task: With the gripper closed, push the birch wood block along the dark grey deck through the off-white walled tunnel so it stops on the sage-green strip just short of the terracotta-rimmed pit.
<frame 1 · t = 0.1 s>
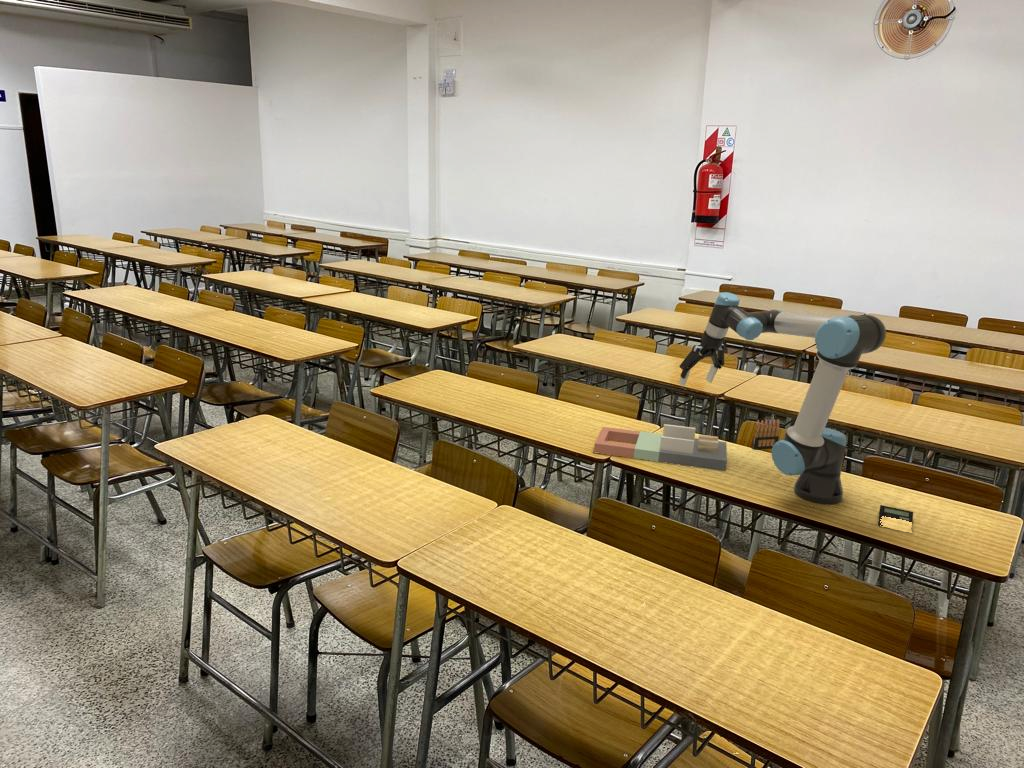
hand: (695, 382, 267), 28 cm above the table, tool tilted 20°, fingers open, 13 cm apart
ammunition clip: (764, 448, 283), on the table
block: (707, 448, 268), point 4 cm above the table, touching deck
calculator: (894, 524, 224), on the table
deck: (670, 453, 273), on the table
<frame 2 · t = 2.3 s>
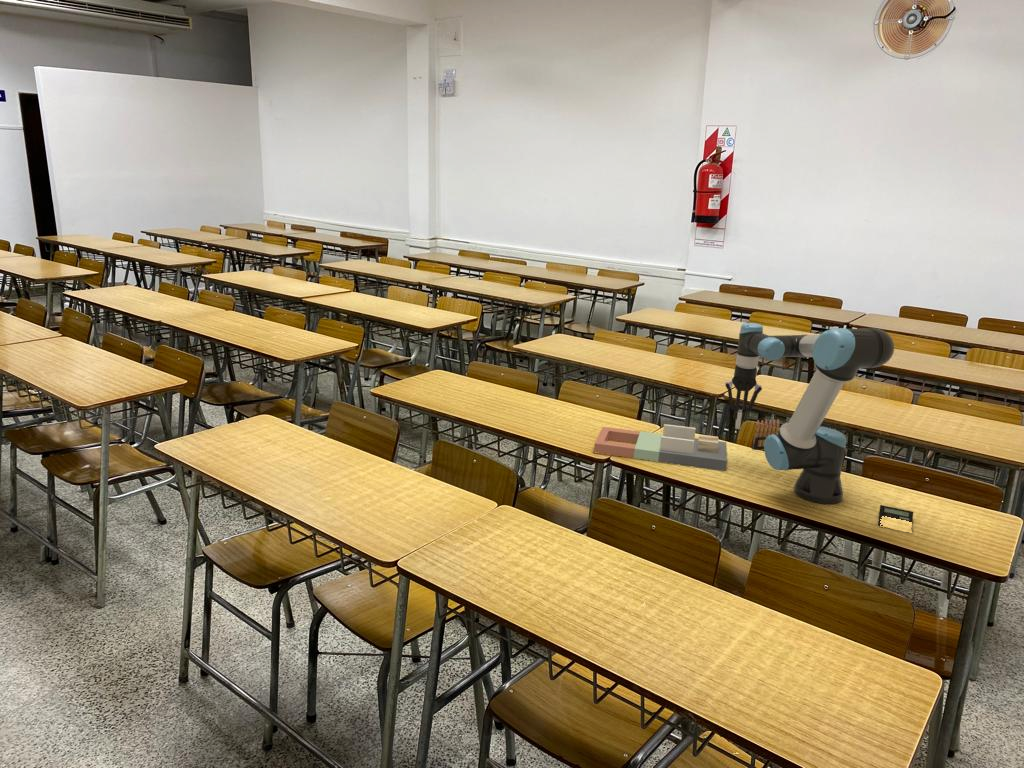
hand: (737, 427, 263), 14 cm above the table, tool pointing down, fingers closed
nothing on the table moved.
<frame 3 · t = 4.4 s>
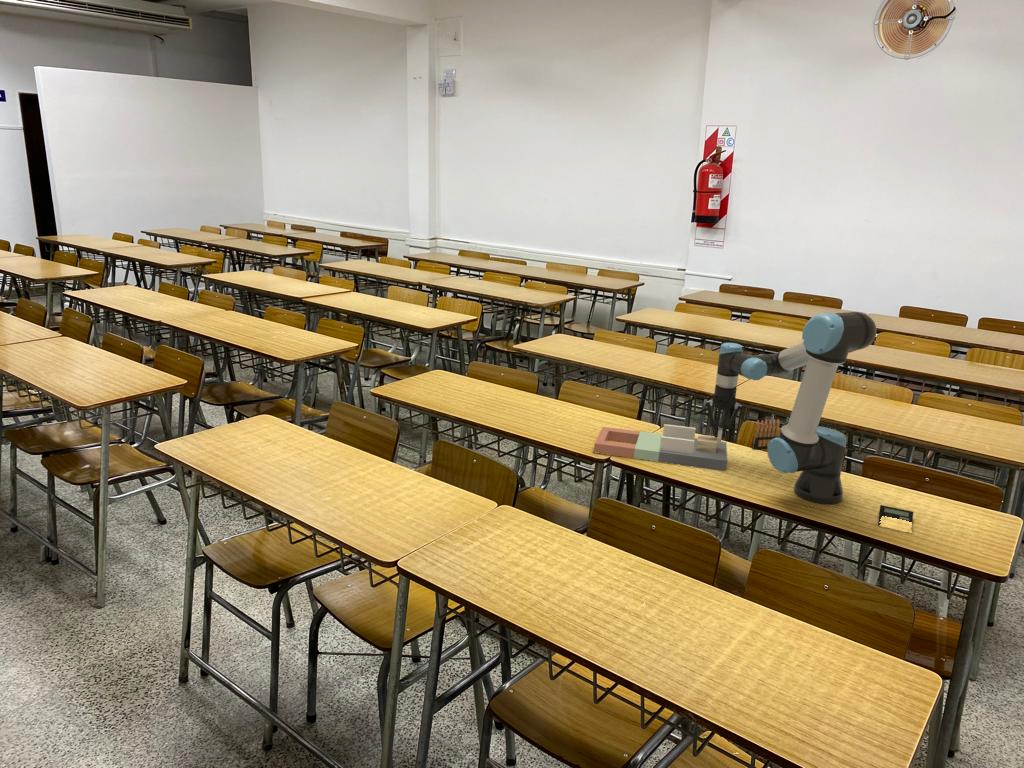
hand: (718, 445, 267), 6 cm above the table, tool pointing down, fingers closed
block: (706, 448, 268), point 4 cm above the table, touching gripper
everything else where it was.
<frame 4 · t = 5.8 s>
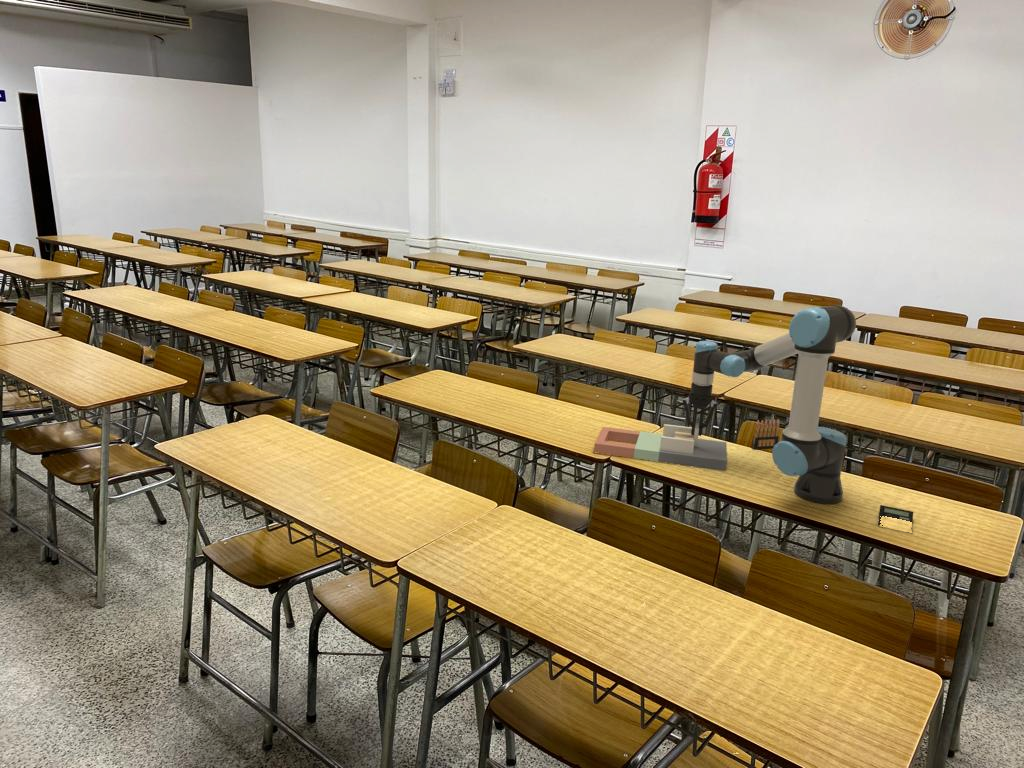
hand: (695, 443, 269), 6 cm above the table, tool pointing down, fingers closed
block: (683, 445, 270), point 4 cm above the table
everything else where it was.
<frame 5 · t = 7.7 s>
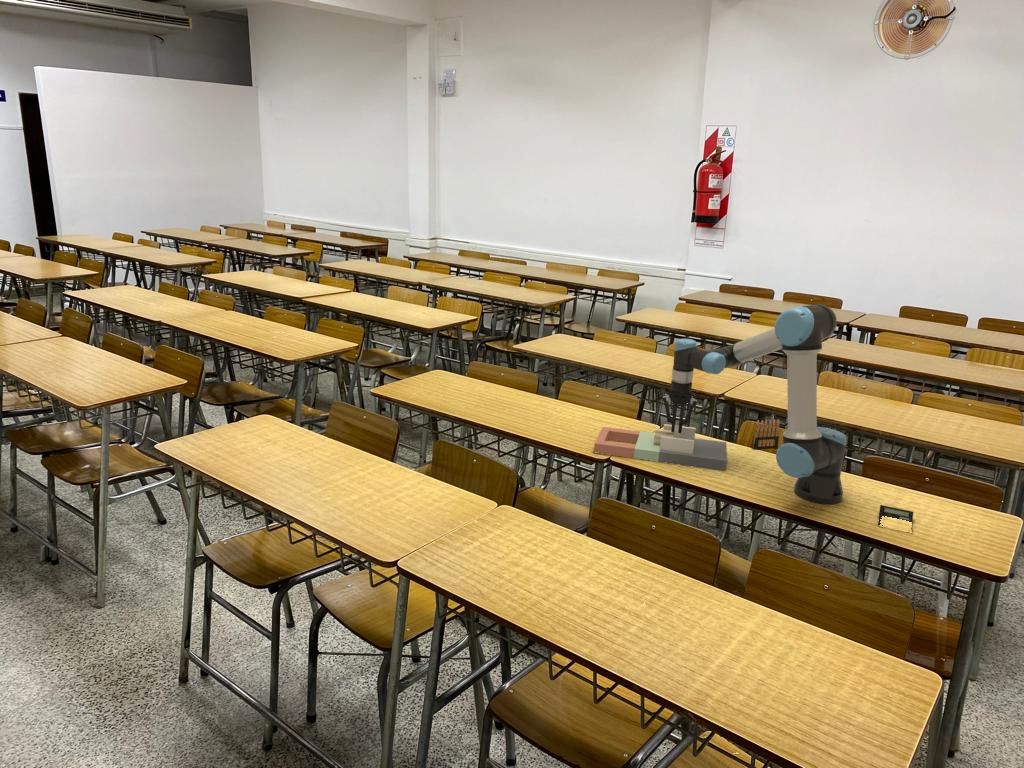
hand: (675, 440, 271), 6 cm above the table, tool pointing down, fingers closed
block: (663, 442, 272), point 4 cm above the table, touching gripper
everything else where it was.
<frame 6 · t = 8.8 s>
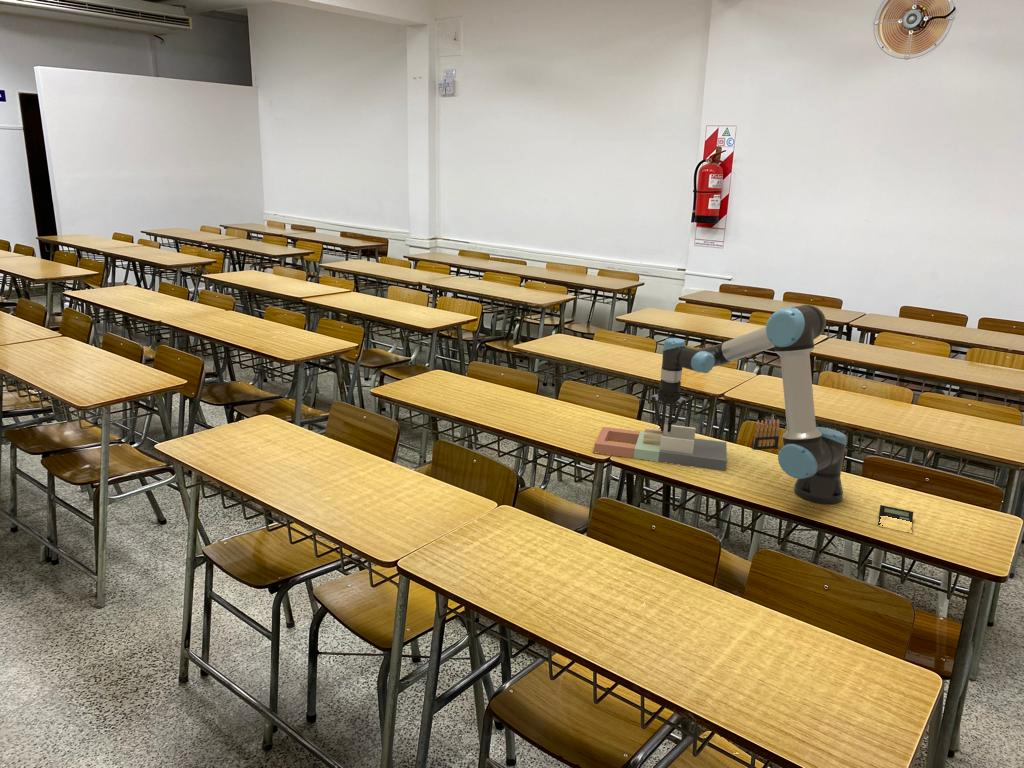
hand: (664, 439, 272), 5 cm above the table, tool pointing down, fingers closed
block: (653, 441, 273), point 4 cm above the table, touching deck, gripper
everything else where it was.
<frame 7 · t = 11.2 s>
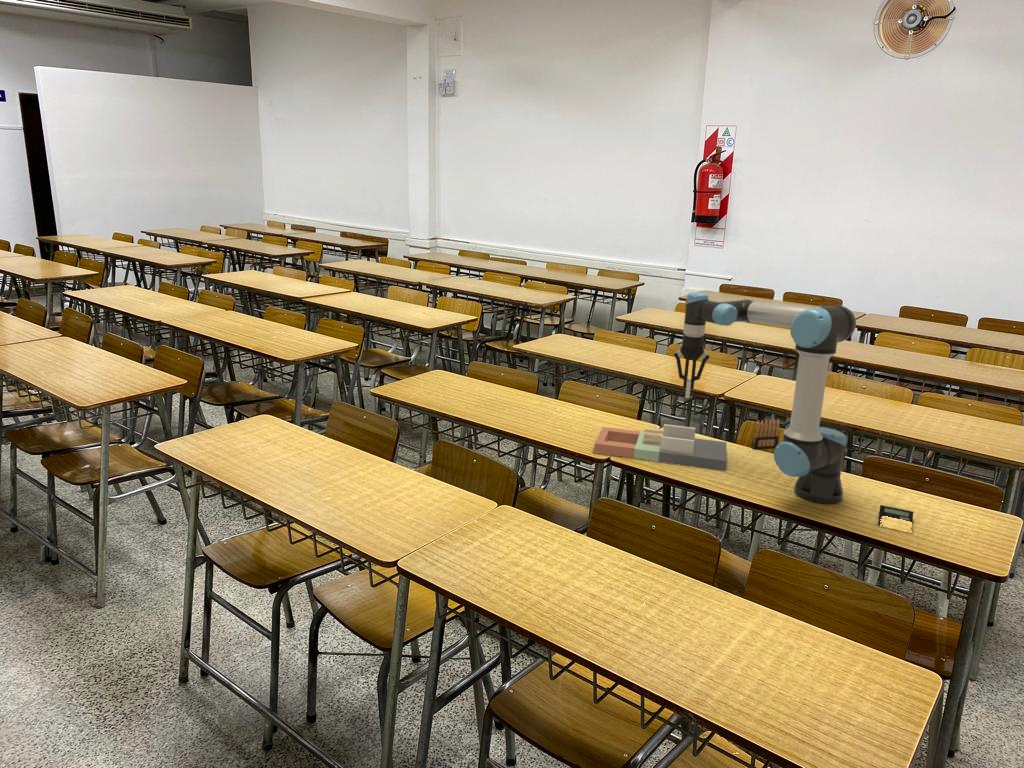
hand: (687, 397, 267), 23 cm above the table, tool pointing down, fingers closed
block: (653, 441, 273), point 4 cm above the table, touching deck
everything else where it was.
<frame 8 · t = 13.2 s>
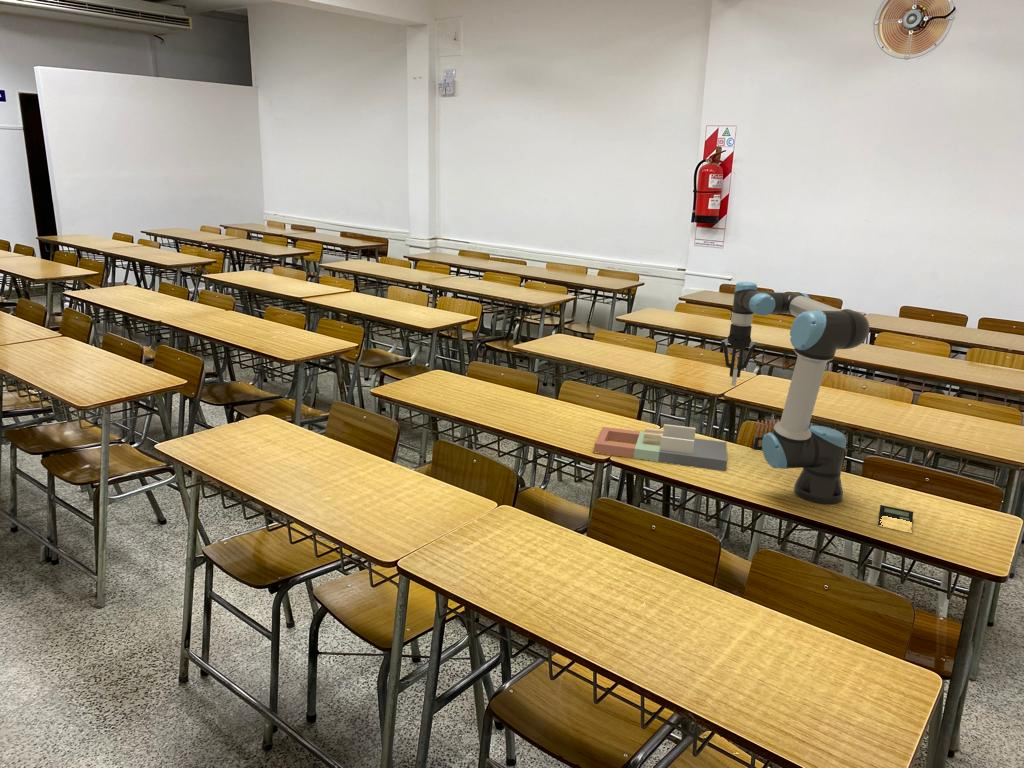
hand: (733, 385, 271), 26 cm above the table, tool pointing down, fingers closed
nothing on the table moved.
at the end: block inside the target area (1.3 cm from its centre), point 4.0 cm above the table; block tilted 0°; block moved 20.0 cm from its start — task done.
